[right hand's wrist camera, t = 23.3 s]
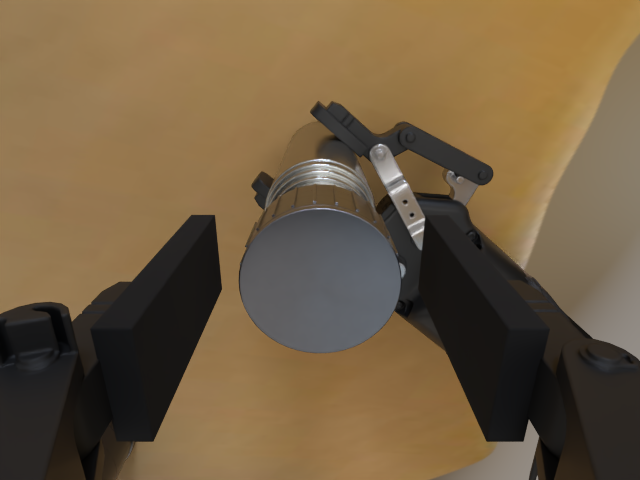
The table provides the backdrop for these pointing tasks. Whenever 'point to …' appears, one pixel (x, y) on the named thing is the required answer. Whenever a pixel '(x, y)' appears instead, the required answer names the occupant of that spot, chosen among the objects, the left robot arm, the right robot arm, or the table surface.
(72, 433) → the right robot arm
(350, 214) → the cap
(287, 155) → the bottle
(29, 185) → the table surface
